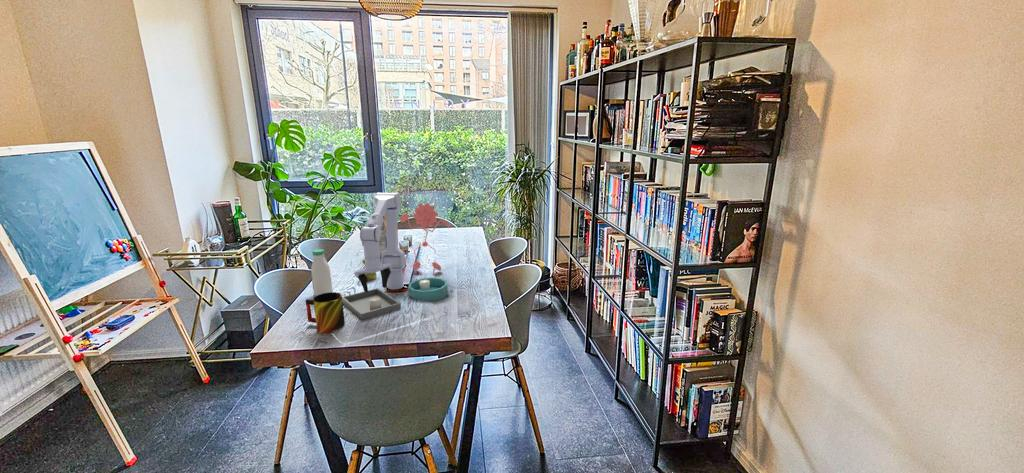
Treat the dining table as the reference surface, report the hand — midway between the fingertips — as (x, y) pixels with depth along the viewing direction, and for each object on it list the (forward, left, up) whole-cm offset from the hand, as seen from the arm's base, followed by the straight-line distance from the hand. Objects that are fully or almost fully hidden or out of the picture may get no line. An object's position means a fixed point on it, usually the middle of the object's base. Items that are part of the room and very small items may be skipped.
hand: (375, 289), depth 174 cm
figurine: (-30, +40, -9) cm, 51 cm away
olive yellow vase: (-39, +12, -9) cm, 42 cm away
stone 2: (-5, +24, -8) cm, 26 cm away
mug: (+2, -21, -9) cm, 23 cm away
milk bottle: (-33, -11, -9) cm, 36 cm away
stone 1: (0, -1, -8) cm, 8 cm away
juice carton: (-70, +32, -9) cm, 78 cm away
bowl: (-2, +24, -9) cm, 26 cm away
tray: (-5, -1, -9) cm, 10 cm away
